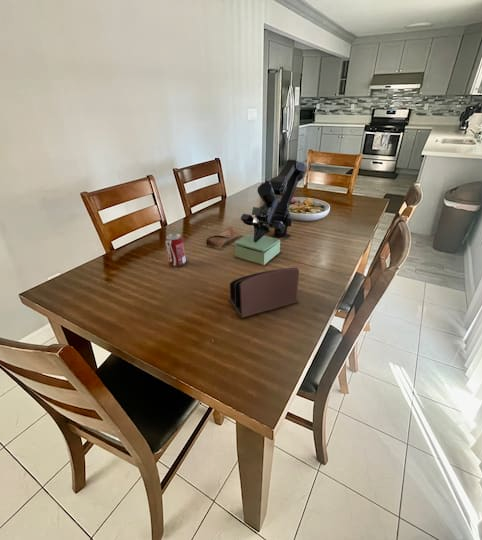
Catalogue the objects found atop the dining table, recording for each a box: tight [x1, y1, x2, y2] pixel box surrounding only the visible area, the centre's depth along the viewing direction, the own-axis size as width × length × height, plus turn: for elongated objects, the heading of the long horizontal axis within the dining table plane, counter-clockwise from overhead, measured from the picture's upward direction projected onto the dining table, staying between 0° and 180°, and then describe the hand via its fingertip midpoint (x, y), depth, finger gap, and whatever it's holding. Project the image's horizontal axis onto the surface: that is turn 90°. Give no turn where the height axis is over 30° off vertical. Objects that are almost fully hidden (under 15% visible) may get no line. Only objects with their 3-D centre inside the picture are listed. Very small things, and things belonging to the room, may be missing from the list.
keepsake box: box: [234, 241, 281, 266], centre depth 124 cm, size 13×14×6 cm
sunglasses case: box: [205, 226, 243, 249], centre depth 138 cm, size 18×7×7 cm
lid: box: [233, 232, 281, 252], centre depth 122 cm, size 14×14×1 cm
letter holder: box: [229, 267, 300, 319], centre depth 93 cm, size 10×20×14 cm, turn 114°
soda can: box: [165, 233, 187, 267], centre depth 117 cm, size 7×7×12 cm
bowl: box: [279, 196, 331, 222], centre depth 167 cm, size 30×30×8 cm
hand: (254, 241), depth 120 cm, fingers closed, pressing on lid
